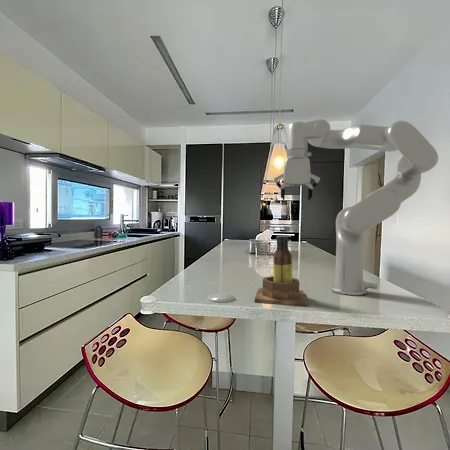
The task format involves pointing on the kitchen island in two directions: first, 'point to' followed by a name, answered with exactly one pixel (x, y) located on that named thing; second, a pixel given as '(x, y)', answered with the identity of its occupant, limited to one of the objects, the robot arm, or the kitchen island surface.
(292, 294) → the holder
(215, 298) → the coaster
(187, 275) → the kitchen island surface
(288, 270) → the sauce bottle
